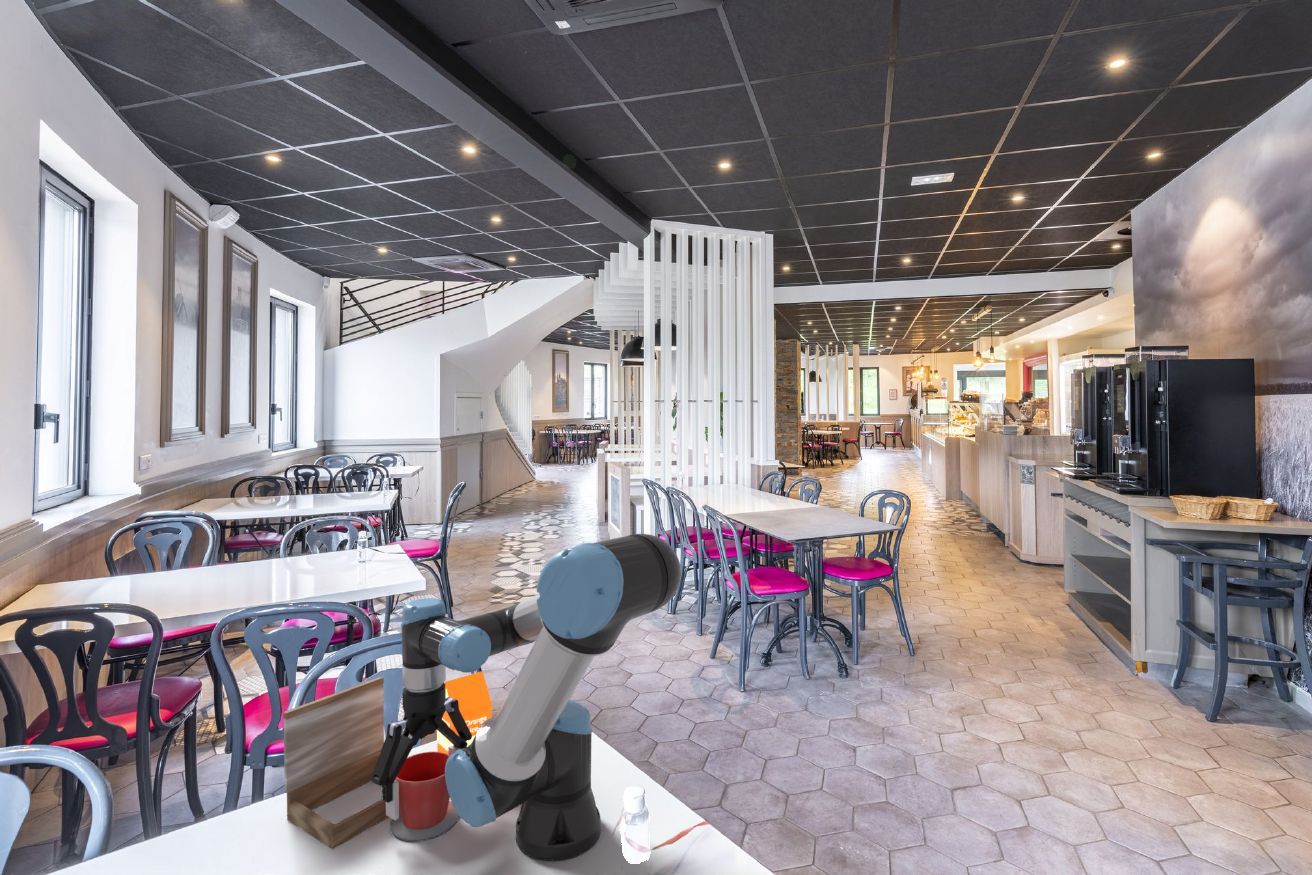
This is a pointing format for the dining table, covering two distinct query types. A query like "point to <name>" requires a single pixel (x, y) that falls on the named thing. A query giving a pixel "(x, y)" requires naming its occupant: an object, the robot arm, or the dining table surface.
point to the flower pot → (423, 790)
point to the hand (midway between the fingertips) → (425, 798)
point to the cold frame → (333, 759)
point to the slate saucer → (424, 834)
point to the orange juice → (467, 705)
